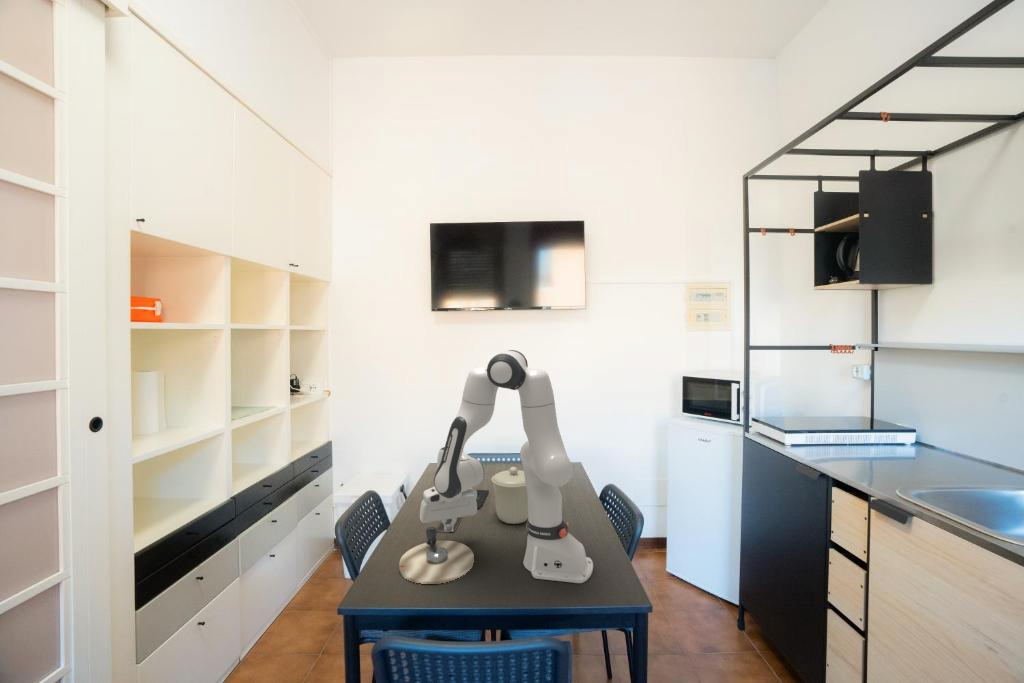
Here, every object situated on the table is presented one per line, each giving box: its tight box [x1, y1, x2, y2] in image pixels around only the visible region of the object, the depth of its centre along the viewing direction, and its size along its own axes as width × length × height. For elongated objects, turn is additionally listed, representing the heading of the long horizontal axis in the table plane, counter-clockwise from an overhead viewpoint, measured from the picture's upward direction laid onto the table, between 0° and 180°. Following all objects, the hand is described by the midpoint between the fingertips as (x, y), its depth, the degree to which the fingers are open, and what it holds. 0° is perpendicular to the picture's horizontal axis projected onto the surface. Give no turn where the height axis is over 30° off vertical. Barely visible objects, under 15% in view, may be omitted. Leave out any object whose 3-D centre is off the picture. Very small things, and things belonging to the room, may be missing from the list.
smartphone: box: [436, 517, 464, 533], centre depth 165 cm, size 7×1×16 cm
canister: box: [490, 466, 528, 525], centre depth 169 cm, size 18×18×21 cm
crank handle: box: [425, 526, 448, 564], centre depth 139 cm, size 14×7×6 cm, turn 23°
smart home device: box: [473, 489, 490, 511], centre depth 188 cm, size 8×2×20 cm
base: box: [398, 540, 475, 585], centre depth 136 cm, size 24×24×2 cm
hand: (448, 530), depth 147 cm, fingers closed
